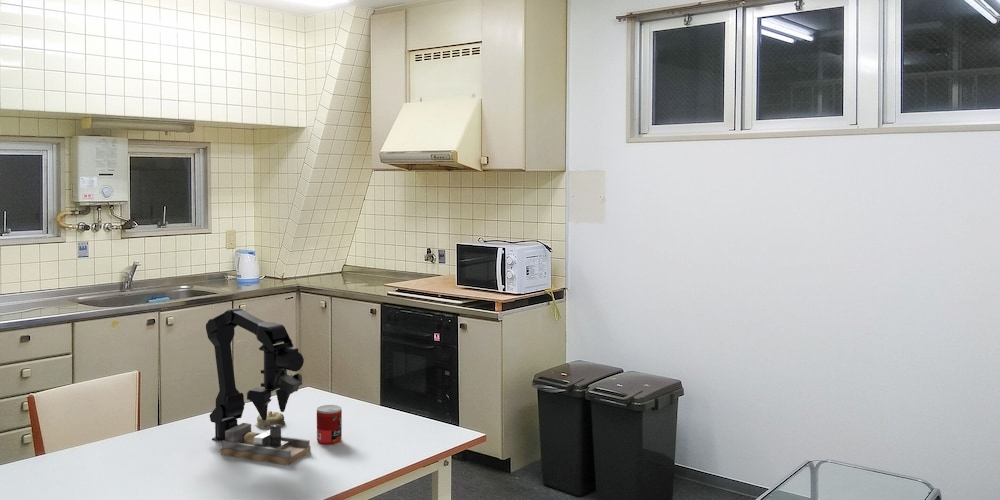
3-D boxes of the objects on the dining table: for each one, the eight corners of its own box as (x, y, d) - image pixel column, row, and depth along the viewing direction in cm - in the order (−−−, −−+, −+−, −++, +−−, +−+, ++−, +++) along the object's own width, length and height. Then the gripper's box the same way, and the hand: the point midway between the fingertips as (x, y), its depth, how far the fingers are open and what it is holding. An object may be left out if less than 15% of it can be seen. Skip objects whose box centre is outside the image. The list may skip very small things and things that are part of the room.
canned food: (336, 446, 252) (336, 412, 251) (312, 444, 254) (312, 410, 253) (345, 438, 260) (345, 405, 259) (322, 436, 261) (322, 403, 260)
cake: (291, 426, 274) (291, 411, 273) (265, 433, 266) (266, 418, 265) (274, 418, 280) (275, 403, 279) (249, 425, 272) (249, 410, 272)
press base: (220, 454, 243) (220, 432, 242) (245, 442, 254) (245, 421, 254) (288, 465, 235) (288, 442, 235) (310, 452, 247) (310, 430, 246)
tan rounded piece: (241, 446, 245) (241, 433, 245) (249, 442, 249) (249, 429, 249) (252, 447, 244) (252, 435, 243) (260, 443, 248) (260, 431, 247)
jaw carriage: (253, 450, 241) (253, 427, 241) (269, 441, 249) (269, 420, 248) (273, 453, 239) (273, 430, 238) (288, 444, 247) (288, 422, 246)
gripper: (277, 376, 231) (277, 428, 233) (313, 362, 249) (313, 410, 250) (245, 372, 235) (245, 423, 237) (282, 358, 252) (282, 406, 254)
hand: (273, 415), depth 244 cm, fingers open, 9 cm apart
